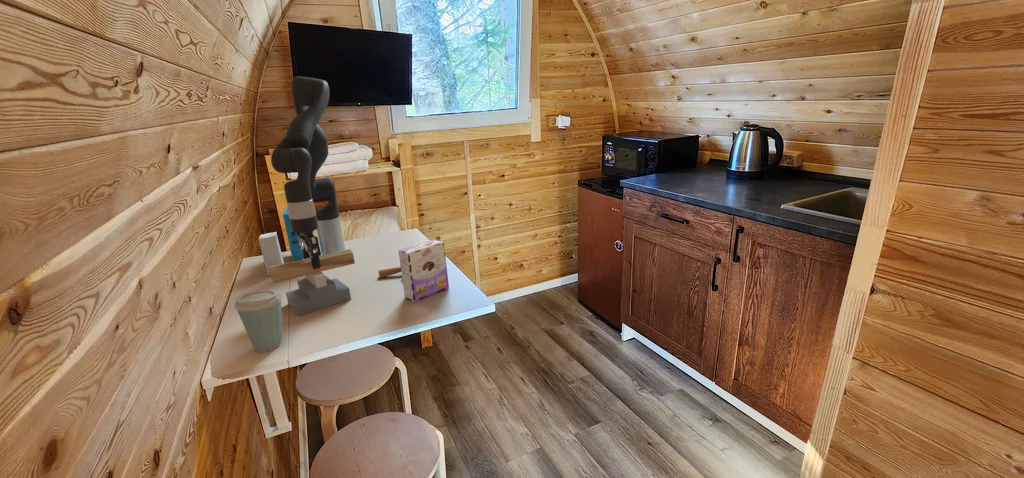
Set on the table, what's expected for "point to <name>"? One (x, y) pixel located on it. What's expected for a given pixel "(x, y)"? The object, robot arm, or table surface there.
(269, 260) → the skincare box
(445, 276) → the candy box
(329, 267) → the oak beam
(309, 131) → the robot arm
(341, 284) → the ridge stand
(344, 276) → the table surface
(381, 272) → the kendama
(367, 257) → the table surface
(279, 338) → the disposable coffee cup
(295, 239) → the block
